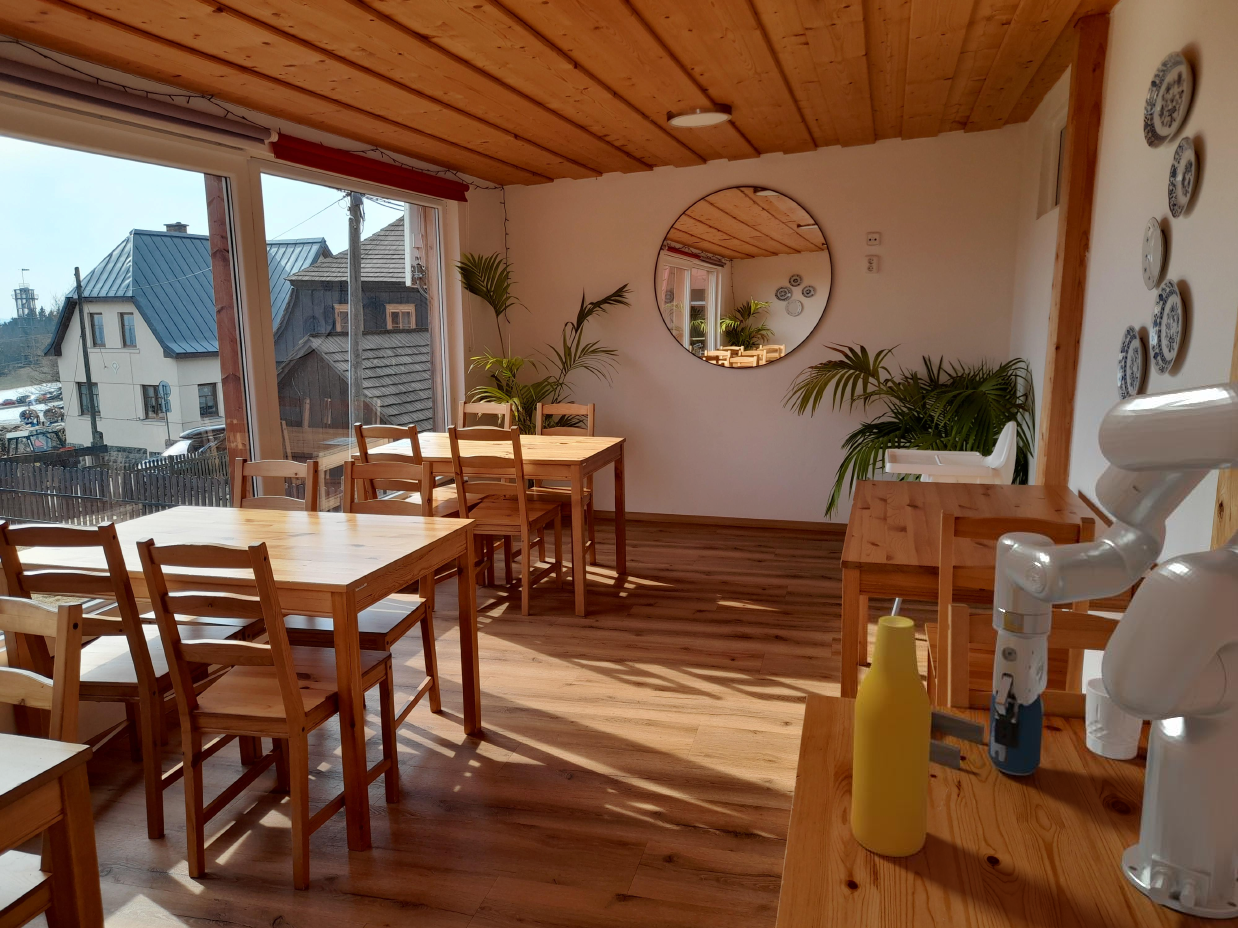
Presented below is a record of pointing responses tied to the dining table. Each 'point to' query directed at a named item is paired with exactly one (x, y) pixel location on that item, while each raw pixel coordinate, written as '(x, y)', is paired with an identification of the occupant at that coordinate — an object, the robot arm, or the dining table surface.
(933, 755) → the gray u-shaped bracket
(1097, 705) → the white cup
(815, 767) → the dining table surface
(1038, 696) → the soda can
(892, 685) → the yellow bottle
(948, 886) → the dining table surface
